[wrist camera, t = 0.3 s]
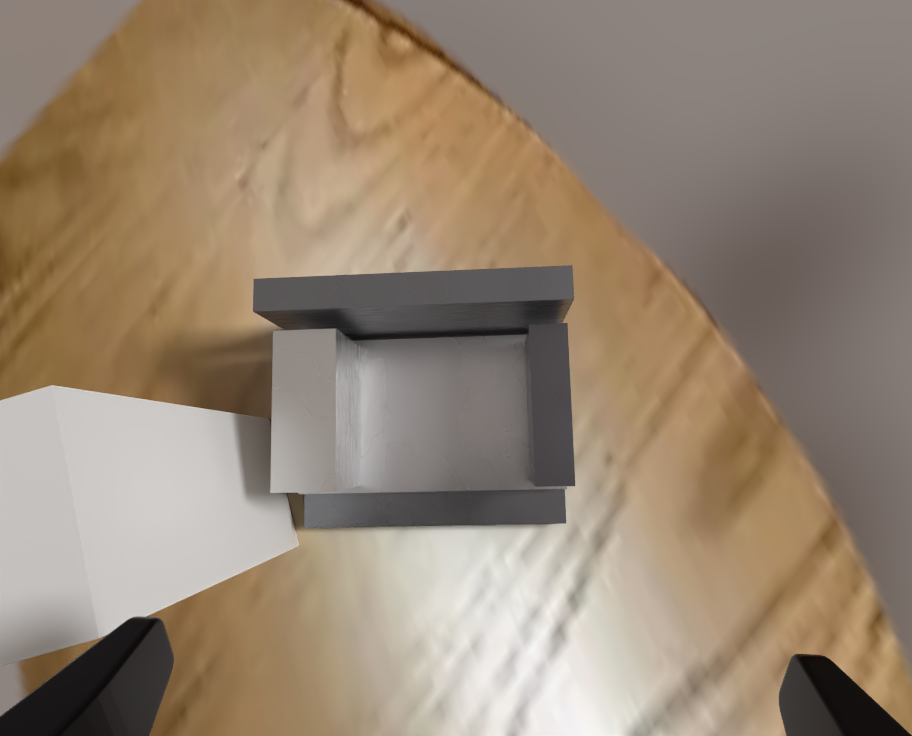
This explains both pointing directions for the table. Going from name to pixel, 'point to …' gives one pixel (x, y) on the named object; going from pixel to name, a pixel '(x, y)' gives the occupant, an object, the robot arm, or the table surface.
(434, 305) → the gray open holder
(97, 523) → the block
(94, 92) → the table surface
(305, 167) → the table surface
